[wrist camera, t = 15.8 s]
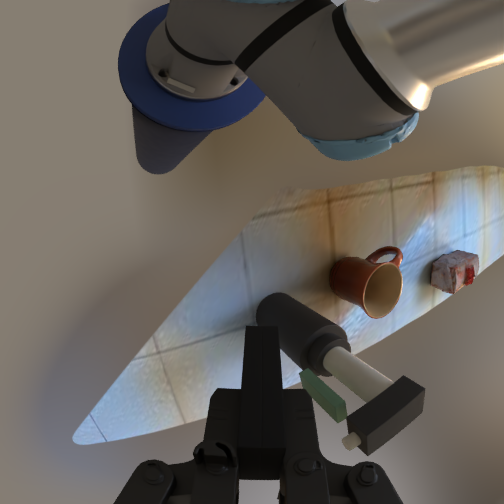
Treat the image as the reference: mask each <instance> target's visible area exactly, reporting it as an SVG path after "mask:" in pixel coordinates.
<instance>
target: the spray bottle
mask: <svg viewBox="0 0 504 504" xmlns="http://www.w3.org/2000/svg"><path fill="white" fill-rule="evenodd" d="M256 322H257V324H258V326H278V331H279V344H280V349H281V350H282V351H283V352H284V353H285V354H286V355H287V356H288V357H290V358H291V359H292V360H293V361H294V362H295V363H296V364H297V365H298V366H299V367H300V368H301V369H302V370H303V371H304V370H305V369H307V368H309V369H310V370H311V371H312V372H313V373H314V374H315V375H316V376H319V375H322V376H326V377H329V376H332V375H333V376H334V377H336V378H337V379H338V380H339V381H340V382H342V383H343V384H344V385H345V386H347V387H348V388H349V389H350V390H351V391H353V392H354V393H355V394H356V395H358V396H359V397H360V398H361V399H363V400H364V401H365V402H366V404H365V405H364V406H362V407H361V408H359V409H358V410H356V411H355V412H353V413H352V414H350V415H349V416H347V417H346V420H347V426H348V434H349V435H347V436H346V437H344V438H343V439H342V443H343V445H344V446H345V448H346V449H348V450H349V451H350V450H352V449H354V448H355V447H358V448H359V449H361V450H362V451H363V452H364V453H365V454H366V455H367V456H369V455H370V454H371V453H373V452H374V451H375V450H377V449H378V448H379V447H381V446H382V445H384V444H385V443H386V442H387V441H389V440H390V439H391V438H393V437H394V436H395V435H396V434H398V433H399V432H400V431H401V430H402V429H404V428H405V427H406V426H407V425H408V424H410V423H411V422H412V421H413V420H414V419H415V418H416V417H418V416H419V415H420V414H421V413H422V411H423V404H424V396H425V388H424V387H422V386H420V385H419V384H417V383H415V382H414V381H412V380H411V379H409V378H407V377H406V376H404V375H403V376H402V377H401V378H400V379H398V380H397V381H396V382H393V381H392V380H390V379H389V378H387V377H386V376H384V375H382V374H381V373H380V372H378V371H376V370H375V369H374V368H372V367H371V366H369V365H368V364H366V363H365V362H363V361H362V360H360V359H359V358H357V357H356V356H354V355H353V354H351V347H350V344H349V343H348V341H347V335H346V333H345V331H344V330H343V329H342V328H341V327H340V326H338V325H336V324H335V323H333V322H331V321H330V320H328V319H326V318H325V317H323V316H321V315H320V314H318V313H317V312H315V311H313V310H312V309H310V308H308V307H307V306H305V305H303V304H302V303H300V302H299V301H297V300H295V299H294V298H292V297H290V296H289V295H287V294H285V293H274V294H271V295H269V296H267V297H266V298H265V299H264V300H263V301H262V302H261V303H260V305H259V306H258V309H257V312H256Z"/></svg>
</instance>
